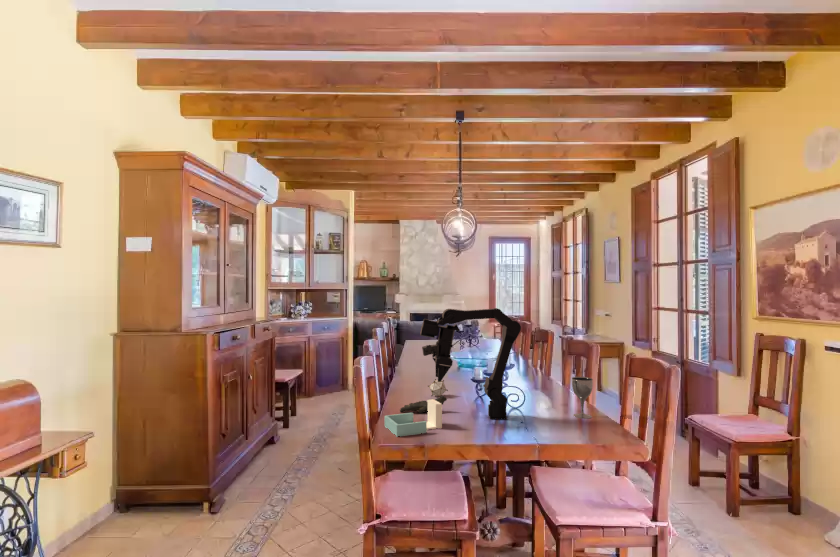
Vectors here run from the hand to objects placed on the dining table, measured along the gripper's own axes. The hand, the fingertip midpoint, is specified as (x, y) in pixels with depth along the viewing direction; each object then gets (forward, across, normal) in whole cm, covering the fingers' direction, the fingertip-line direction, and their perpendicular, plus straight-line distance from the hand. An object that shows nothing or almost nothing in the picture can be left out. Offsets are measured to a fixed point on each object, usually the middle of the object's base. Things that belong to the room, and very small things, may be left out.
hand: (438, 379), depth 189 cm
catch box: (+18, +13, -10) cm, 24 cm away
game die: (+15, -37, +6) cm, 40 cm away
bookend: (+16, +10, -2) cm, 20 cm away
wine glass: (+4, 0, +60) cm, 60 cm away
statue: (+16, -10, -2) cm, 19 cm away
